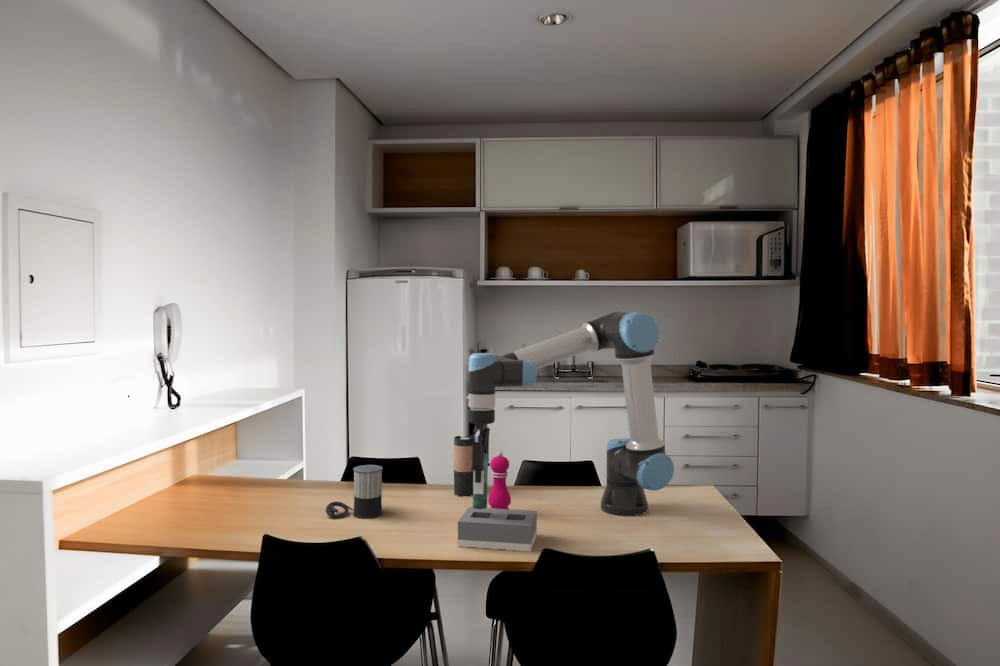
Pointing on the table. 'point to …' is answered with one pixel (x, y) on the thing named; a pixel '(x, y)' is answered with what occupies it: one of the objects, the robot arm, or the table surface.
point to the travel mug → (463, 466)
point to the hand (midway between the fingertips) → (480, 491)
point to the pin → (481, 499)
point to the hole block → (498, 529)
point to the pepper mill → (499, 483)
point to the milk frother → (363, 494)
